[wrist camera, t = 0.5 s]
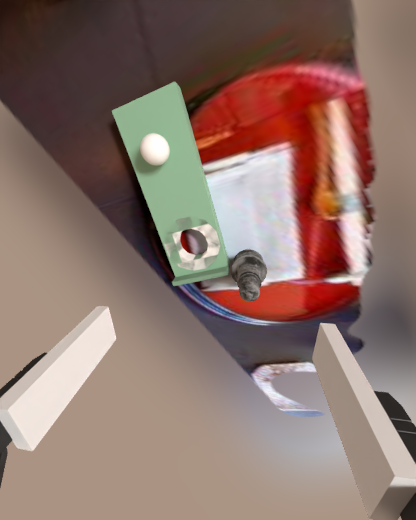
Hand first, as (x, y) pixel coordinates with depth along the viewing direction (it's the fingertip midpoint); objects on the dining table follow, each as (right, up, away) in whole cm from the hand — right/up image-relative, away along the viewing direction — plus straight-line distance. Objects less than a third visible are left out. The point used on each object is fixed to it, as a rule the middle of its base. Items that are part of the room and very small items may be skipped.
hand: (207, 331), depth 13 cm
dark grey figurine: (+7, +4, +26) cm, 27 cm away
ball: (-7, +20, +16) cm, 27 cm away
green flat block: (-5, +15, +23) cm, 28 cm away
